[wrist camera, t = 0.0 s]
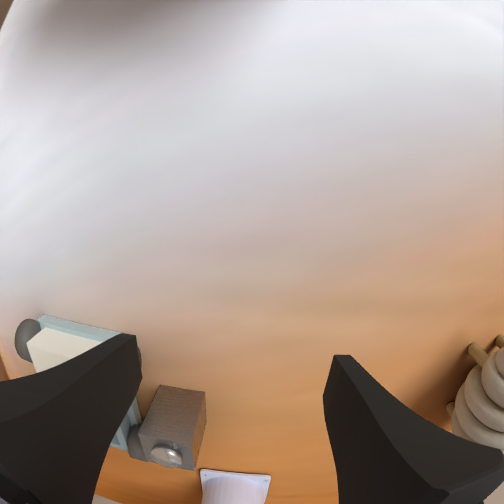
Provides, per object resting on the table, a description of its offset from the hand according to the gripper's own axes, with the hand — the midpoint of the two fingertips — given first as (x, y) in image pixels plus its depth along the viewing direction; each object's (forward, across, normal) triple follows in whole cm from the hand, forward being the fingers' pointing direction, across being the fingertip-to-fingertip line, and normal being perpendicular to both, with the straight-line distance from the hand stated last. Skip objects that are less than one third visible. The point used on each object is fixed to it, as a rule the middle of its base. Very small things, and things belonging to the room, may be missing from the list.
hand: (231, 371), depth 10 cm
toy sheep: (+10, -24, +9) cm, 28 cm away
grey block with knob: (+10, +5, +13) cm, 17 cm away
